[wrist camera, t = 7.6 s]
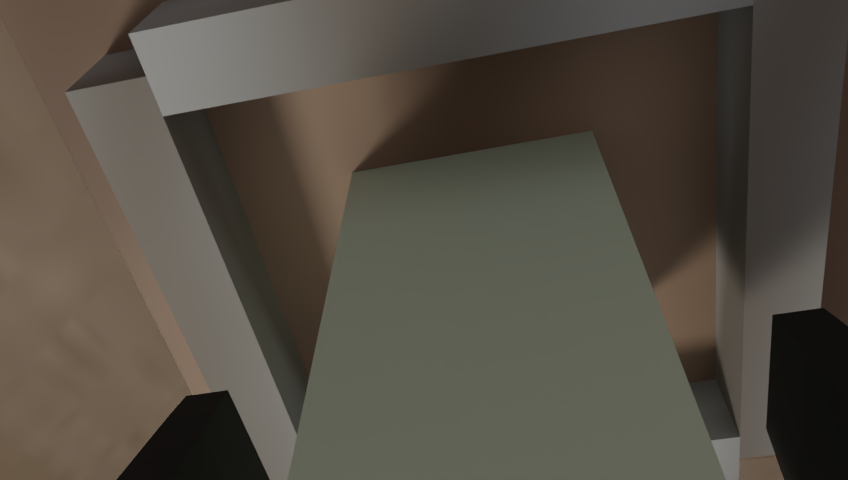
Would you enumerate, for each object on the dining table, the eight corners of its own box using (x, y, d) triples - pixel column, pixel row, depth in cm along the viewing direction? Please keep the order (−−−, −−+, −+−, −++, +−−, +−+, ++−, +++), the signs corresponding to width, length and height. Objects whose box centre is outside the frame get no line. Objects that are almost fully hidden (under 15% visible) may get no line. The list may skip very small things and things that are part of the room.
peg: (592, 130, 12) (769, 594, 6) (610, 320, 14) (754, 823, 8) (351, 172, 13) (253, 643, 6) (404, 350, 15) (372, 844, 8)
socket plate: (889, -273, 10) (1006, -276, 8) (816, 414, 17) (868, 508, 15) (-1, -69, 12) (-98, -28, 10) (262, 481, 19) (239, 575, 17)
